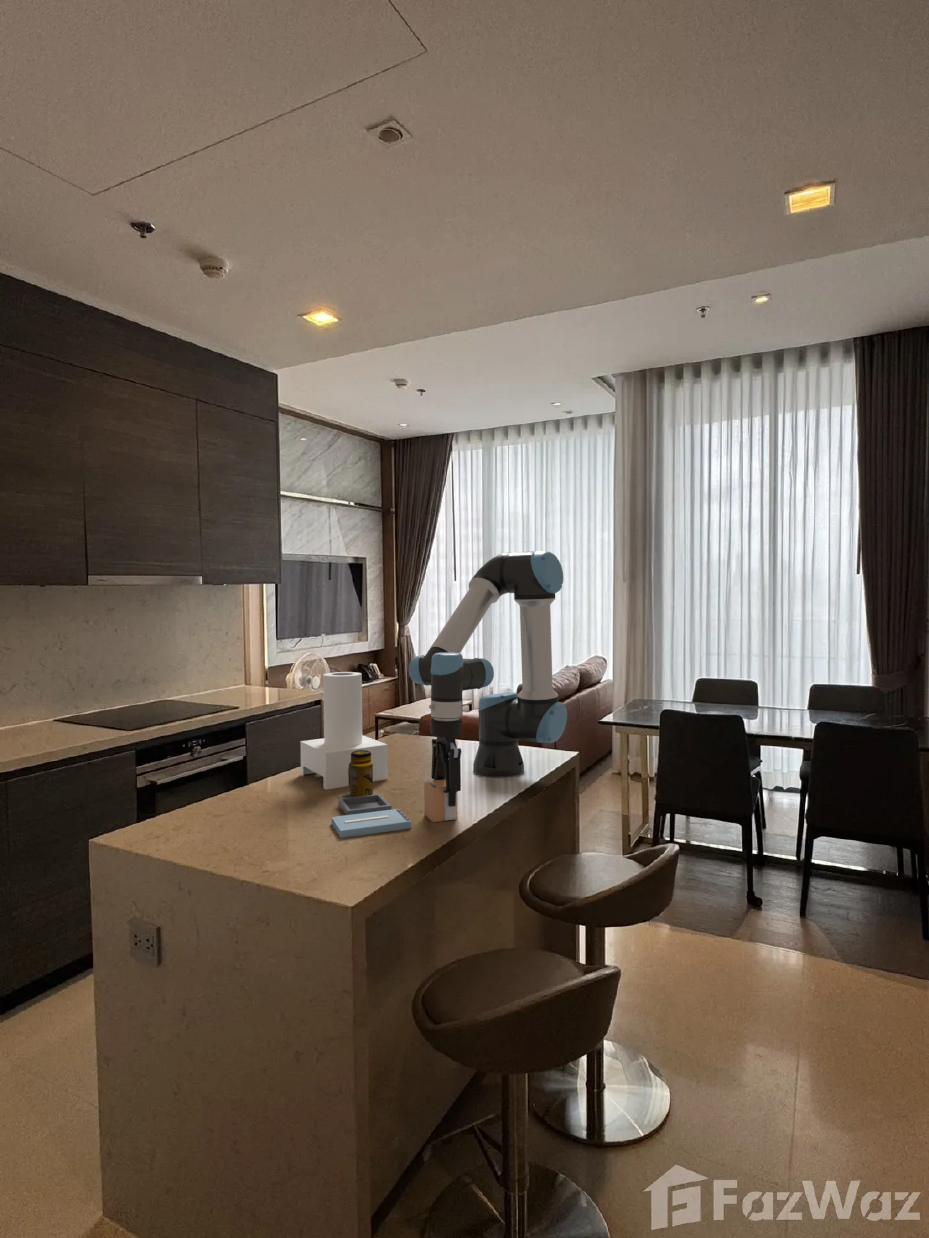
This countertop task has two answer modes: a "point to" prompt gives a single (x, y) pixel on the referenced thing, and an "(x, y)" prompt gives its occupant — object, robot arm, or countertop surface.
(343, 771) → the paper towel holder
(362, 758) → the condiment
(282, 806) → the countertop surface
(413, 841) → the countertop surface
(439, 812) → the stub
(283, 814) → the countertop surface
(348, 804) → the tray
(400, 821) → the board
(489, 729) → the robot arm
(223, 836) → the countertop surface
